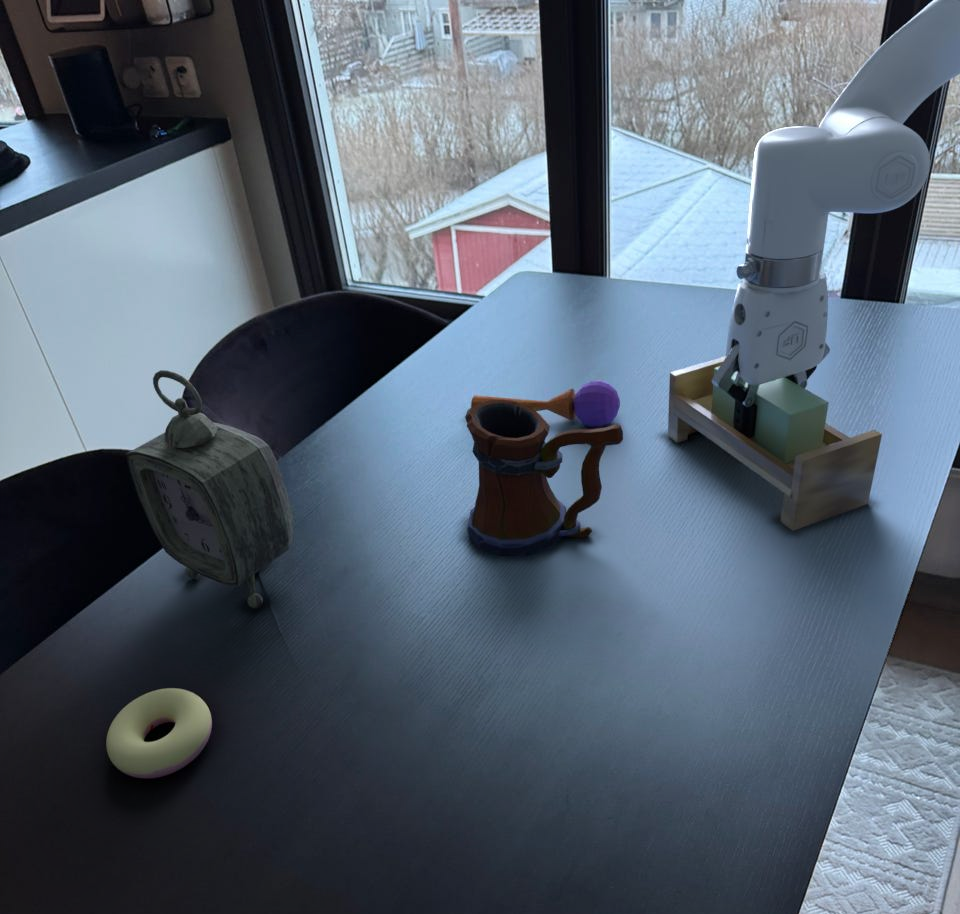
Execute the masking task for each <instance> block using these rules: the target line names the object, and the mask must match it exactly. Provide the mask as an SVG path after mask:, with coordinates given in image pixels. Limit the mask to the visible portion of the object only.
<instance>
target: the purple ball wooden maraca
mask: <svg viewBox="0 0 960 914" xmlns="http://www.w3.org/2000/svg"><path fill="white" fill-rule="evenodd" d="M501 399H503V400H508V401H514V402H517V403H518V404H521V403H522V404H524V405H526V406H528V407H529V408H531V409H533V410H535V411H536V412H541V411H549V412H551V413H553V414H555V415H557V416H560V417H561V418H564V419H567V420H568V421H571V422H573V421H575V419H576V418H577V419H578V420H579V422H581V424H583V425H585V426H588V427H590V428H603V427H604V426H606V425H608V424H611V423H612V422H613V420H614V419H616V417H617V415H618V413H619V410H620V407H621V400H620V397H619V393H618V391H617V389H616V388H615V387H614V386H613V385H612V384H611V383H609V382H606V381H604V380H592V381H589V382H586V383H584V384H582V386H580V387H579V389H578V390H577V391H575V389H574V388H573V387H572V388H570V389H568V390H565V391H564V392H562V393H560V394H559V395H556V396H555V397H553V398H550V399H549V400H535V399H525V398H513V397H512V398H511V397H502V396H501V397H500V396H488V395H477V394H476V395H473V396H472V398H471V402H470V408H471V407H473V406H475V405H477V404H479V403H482V402H484V401H490V400H501Z"/></svg>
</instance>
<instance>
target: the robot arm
mask: <svg viewBox="0 0 960 914" xmlns="http://www.w3.org/2000/svg"><path fill="white" fill-rule="evenodd" d="M959 75H960V0H932V1H930V2H929V3H928V4H927V5H926V6H925V7H923V8H922V9H921V10H920V11H919V12H918V13H917V14H915V15H914V16H913V17H912V18H911V19H909V20H908V21H907V22H906V23H905V24H903V25H902V26H901V27H900V28H899V29H898V30H896V31H895V32H894V33H893V34H891V36H889V38H888V39H886V40H885V41H884V42H883V43H882V44H881V45H880V46H879V47H878V48H877V49H876V50H875V51H874V52H873V53H872V54H871V56H869V57H868V59H867V60H866V61H864V63H863V65H862V66H861V67H860V68H859V69H858V71H857V72H856V74H854V76H853V77H852V79H851V80H850V81H849V82H848V83H847V85H846V86H845V88H844V89H843V90H842V92H841V93H840V94H839V95H838V97H837V98H836V100H835V101H834V102H833V103H832V104H831V107H830V108H829V109H828V111H827V112H826V114H825V115H824V117H823V118H822V120H821V122H820V124H819V125H818V127H817V126H810V125H809V126H808V125H807V126H806V125H805V126H804V125H802V126H801V125H800V126H787V127H782V128H778V129H775V130H772V131H769V132H767V133H766V134H764V135H763V136H762V137H761V138H760V139H759V140H758V142H757V144H756V147H755V150H754V157H753V165H752V177H751V190H750V199H749V200H750V201H749V212H748V226H747V234H746V235H747V237H746V245H745V247H746V248H745V257H744V259H745V260H744V263H743V264H740V265H738V266H737V267H736V276H737V278H738V279H739V280H741V281H740V282H739V283H738V286H737V290H736V293H735V297H734V301H733V304H732V309H731V314H730V317H729V325H728V331H727V337H726V345H725V346H726V347H725V356H726V358H725V360H724V361H723V363H722V364H721V366H720V367H719V369H718V370H717V372H716V373H715V375H714V377H713V378H712V383H713V384H714V385H716V386H717V387H719V388H721V389H722V390H724V391H725V392H726V393H728V394H729V395H730V396H731V397H732V398H733V399H735V408H734V419H733V424H734V428H735V429H736V430H737V431H739V432H740V433H741V434H743V435H744V436H746V437H747V438H751V437H754V434H755V425H756V415H757V405H755V404H754V400H755V397H756V394H757V391H758V388H759V385H760V384H763V383H767V382H770V381H774V380H777V379H780V378H783V377H785V378H787V379H789V380H791V381H792V382H794V383H796V384H798V385H799V386H801V387H803V388H805V389H806V388H807V387H808V380H809V378H810V377H811V376H812V375H813V374H814V372H815V371H816V370H817V368H818V365H820V364H821V363H822V361H823V360H824V359H825V358H826V357H827V356H828V355H829V353H830V352H831V348H830V347H829V345H828V344H827V342H826V341H827V331H828V318H829V317H828V316H829V295H828V293H829V292H828V281H827V275H826V273H824V272H823V271H821V270H822V263H823V256H824V250H825V249H824V248H825V244H826V243H825V242H826V234H827V228H828V222H829V221H828V220H829V213H849V214H850V213H852V214H854V213H855V214H880V213H886V212H890V211H893V210H895V209H898V208H900V207H902V206H905V204H907V203H908V202H910V201H911V200H912V199H913V198H914V197H915V196H917V194H918V193H920V192H921V191H920V190H922V188H923V187H924V185H925V183H926V182H927V181H926V180H927V178H928V176H929V172H930V167H931V156H930V152H929V149H928V146H927V145H926V142H925V141H924V139H923V138H922V137H921V136H920V135H919V134H918V133H917V132H916V131H914V130H913V129H912V128H910V127H908V126H906V125H904V123H905V122H906V121H907V120H908V118H909V117H910V116H911V115H912V114H913V113H914V111H916V110H917V108H918V107H919V106H920V105H921V104H922V103H923V102H924V101H926V99H928V98H929V97H930V96H931V95H932V94H933V93H934V92H935V91H937V90H938V89H940V88H941V87H942V86H943V85H945V84H946V83H947V82H949V81H951V80H952V79H954V78H955V77H957V76H959ZM735 372H737V375H736V378H735V381H734V383H733V382H732V380H731V378H732V376H733V374H734V373H735ZM746 382H747V383H748V385H747V388H746V391H744V387H745V384H746Z"/></svg>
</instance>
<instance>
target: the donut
mask: <svg viewBox="0 0 960 914" xmlns="http://www.w3.org/2000/svg"><path fill="white" fill-rule="evenodd" d="M167 723H174V727H173V728H172V729H171V730H170V732H169V733H168V734H166V735H165V736H163V737H161V738H159V739H157V740H153V741H145V740H146V737H147V735H148V734H149V733H150V732H151V731H152V730H153V729H156V727H158V726H160V725H163V724H167ZM212 728H213V719H212V713H211V711H210V709H209V707H208V705H207V703H206V702H205V701H204V700H203V698H201V697H200V696H199V695H198V694H196V693H194V692H193V691H190V690H187V689H183V688H175V687H167V688H160V689H156V690H152V691H150V692H147V693H145V694H142V695H140V696H138V697H137V698H135V699H133V700H132V701H130V702H129V703H128V704H127V705H125V706H124V707H123V708H122V709H121V710H120V711H119V712H118V713H117V715H116V716H115V717H114V719H113V720H112V722H111V724H110V726H109V728H108V731H107V735H106V740H105V741H106V742H105V743H106V744H105V745H106V752H107V756H108V758H109V759H110V761H111V763H112V765H113V766H114V767H115V768H116V769H117V770H119V771H120V772H121V773H123V774H125V775H127V776H130V777H132V778H137V779H158V778H161V777H165V776H169V775H171V774H174V773H175V772H178V771H180V770H181V769H183V768H185V767H186V766H188V765H189V764H190V763H192V762H193V761H194V760H195V759H196V758H198V756H199V755H200V754H201V753H202V752H203V750H204V748H205V746H206V745H207V743H208V742H209V739H210V737H211V734H212Z"/></svg>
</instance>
